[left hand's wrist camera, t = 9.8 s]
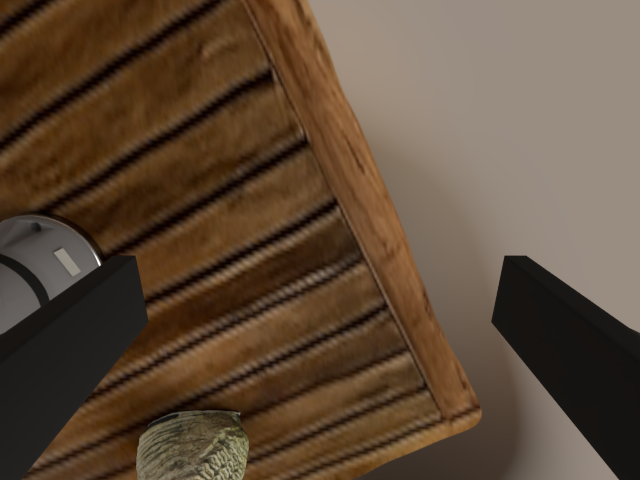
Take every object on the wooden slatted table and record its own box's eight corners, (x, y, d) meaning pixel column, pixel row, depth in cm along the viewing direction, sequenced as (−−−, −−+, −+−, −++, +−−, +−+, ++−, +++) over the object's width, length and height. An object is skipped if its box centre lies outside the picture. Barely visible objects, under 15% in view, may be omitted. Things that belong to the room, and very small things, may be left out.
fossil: (262, 428, 58) (244, 531, 44) (165, 458, 60) (118, 565, 46) (238, 389, 55) (210, 486, 41) (137, 423, 57) (77, 524, 43)
